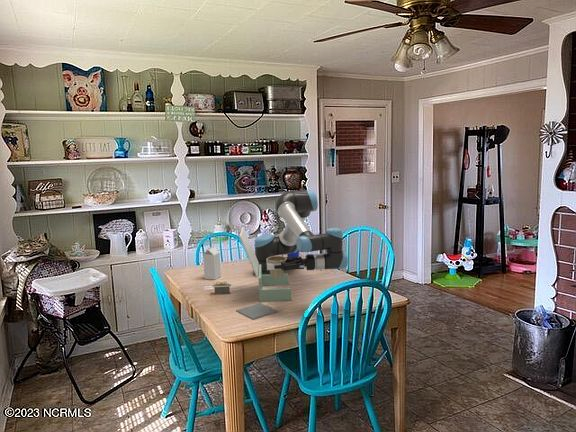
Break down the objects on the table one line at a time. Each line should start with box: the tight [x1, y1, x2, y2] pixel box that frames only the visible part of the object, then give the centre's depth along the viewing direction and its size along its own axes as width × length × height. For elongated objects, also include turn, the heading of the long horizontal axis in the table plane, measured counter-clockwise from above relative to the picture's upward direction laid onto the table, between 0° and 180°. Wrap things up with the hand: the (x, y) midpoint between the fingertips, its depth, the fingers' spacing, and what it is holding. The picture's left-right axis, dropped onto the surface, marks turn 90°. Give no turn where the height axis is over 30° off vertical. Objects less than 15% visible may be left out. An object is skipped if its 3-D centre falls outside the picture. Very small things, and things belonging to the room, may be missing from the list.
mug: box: [281, 251, 300, 257], centre depth 294 cm, size 8×12×10 cm
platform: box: [211, 280, 232, 295], centre depth 235 cm, size 12×18×7 cm, turn 93°
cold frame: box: [257, 264, 293, 303], centre depth 233 cm, size 16×26×12 cm, turn 3°
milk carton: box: [202, 245, 222, 281], centre depth 262 cm, size 7×7×19 cm
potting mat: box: [235, 302, 279, 320], centre depth 208 cm, size 14×14×1 cm
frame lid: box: [239, 226, 259, 278], centre depth 230 cm, size 22×26×1 cm
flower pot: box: [267, 255, 287, 278], centre depth 208 cm, size 9×9×9 cm
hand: (266, 264), depth 208 cm, fingers closed on flower pot, 8 cm apart
